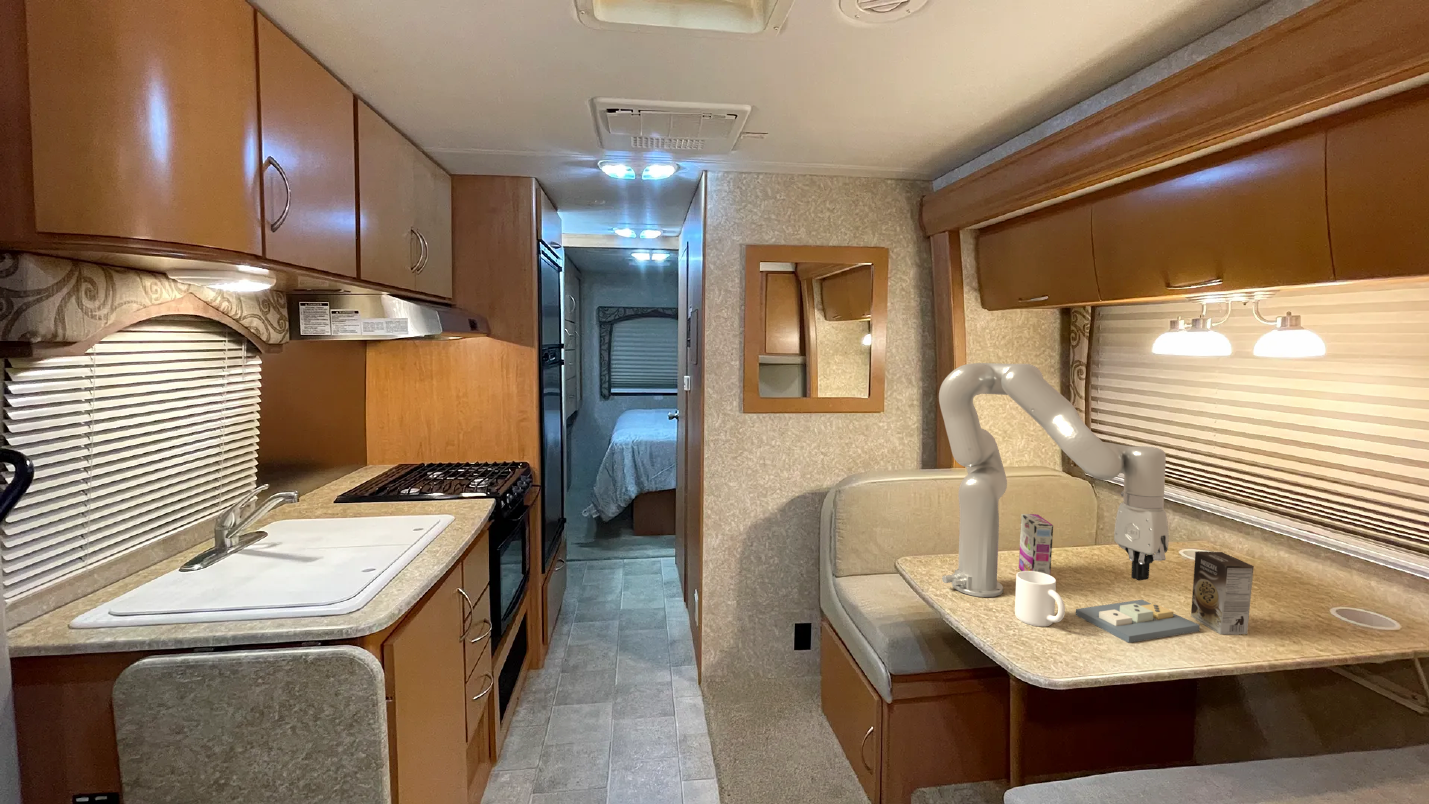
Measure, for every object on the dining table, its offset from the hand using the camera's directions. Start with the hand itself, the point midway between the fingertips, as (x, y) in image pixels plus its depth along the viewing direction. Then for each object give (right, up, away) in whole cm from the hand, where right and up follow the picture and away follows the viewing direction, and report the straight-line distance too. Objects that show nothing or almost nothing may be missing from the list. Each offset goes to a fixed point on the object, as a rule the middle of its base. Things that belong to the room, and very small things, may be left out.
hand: (1139, 578), depth 139 cm
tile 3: (+6, -10, +3) cm, 12 cm away
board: (0, -11, +1) cm, 11 cm away
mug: (-22, -11, +2) cm, 25 cm away
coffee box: (+18, -11, 0) cm, 21 cm away
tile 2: (0, -9, +1) cm, 10 cm away
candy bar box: (-8, -8, +30) cm, 32 cm away
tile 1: (-6, -10, 0) cm, 12 cm away
